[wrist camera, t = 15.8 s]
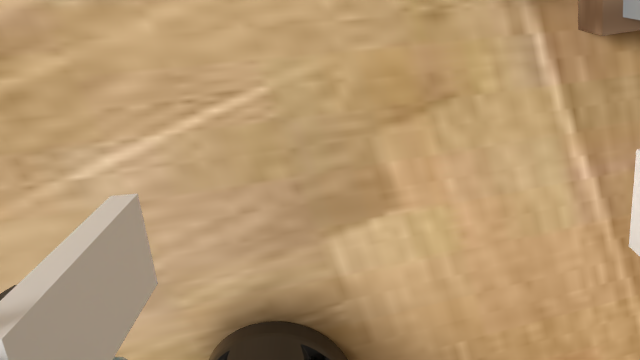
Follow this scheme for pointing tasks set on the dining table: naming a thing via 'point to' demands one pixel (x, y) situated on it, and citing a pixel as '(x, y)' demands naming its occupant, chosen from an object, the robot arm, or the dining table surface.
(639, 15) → the grey top slab
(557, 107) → the dining table surface
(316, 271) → the dining table surface
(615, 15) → the walnut base slab
